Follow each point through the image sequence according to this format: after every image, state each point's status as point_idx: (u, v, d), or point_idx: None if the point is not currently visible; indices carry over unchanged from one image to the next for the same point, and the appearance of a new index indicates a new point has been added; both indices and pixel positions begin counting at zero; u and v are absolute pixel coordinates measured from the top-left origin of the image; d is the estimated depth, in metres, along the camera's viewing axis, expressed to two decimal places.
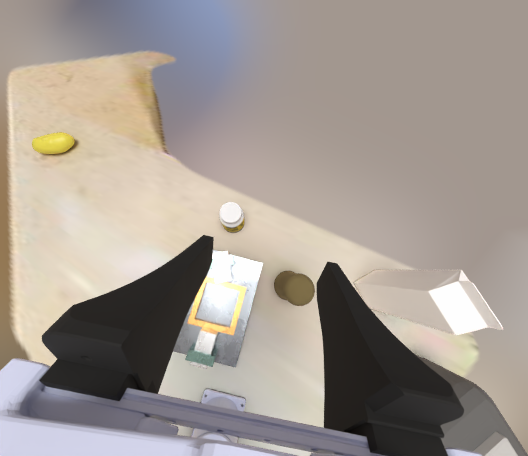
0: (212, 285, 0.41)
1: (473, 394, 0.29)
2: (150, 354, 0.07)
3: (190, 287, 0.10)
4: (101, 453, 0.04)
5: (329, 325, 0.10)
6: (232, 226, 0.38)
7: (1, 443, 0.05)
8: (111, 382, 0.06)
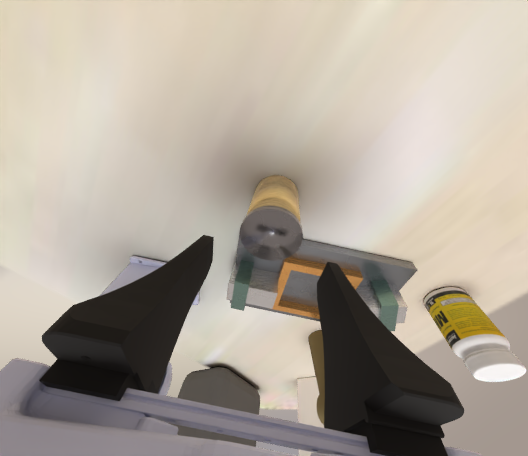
0: None
1: None
2: (150, 354, 0.07)
3: (190, 287, 0.10)
4: (101, 453, 0.04)
5: (329, 324, 0.10)
6: (456, 348, 0.21)
7: (1, 443, 0.05)
8: (111, 382, 0.06)
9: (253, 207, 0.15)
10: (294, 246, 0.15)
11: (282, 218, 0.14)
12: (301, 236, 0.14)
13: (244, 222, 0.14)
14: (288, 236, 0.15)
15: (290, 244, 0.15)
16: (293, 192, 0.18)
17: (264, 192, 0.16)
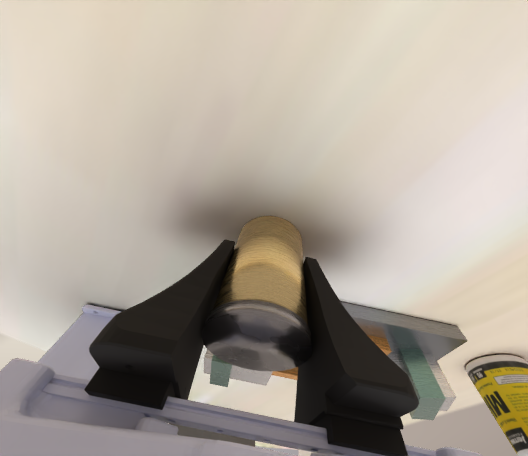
0: None
1: None
2: (186, 362, 0.07)
3: (216, 293, 0.10)
4: (101, 453, 0.04)
5: None
6: None
7: (0, 443, 0.05)
8: (154, 391, 0.06)
9: (226, 291, 0.09)
10: (297, 359, 0.09)
11: (275, 326, 0.07)
12: (309, 350, 0.08)
13: (207, 326, 0.08)
14: (285, 348, 0.08)
15: (290, 357, 0.09)
16: (295, 248, 0.11)
17: (248, 255, 0.10)
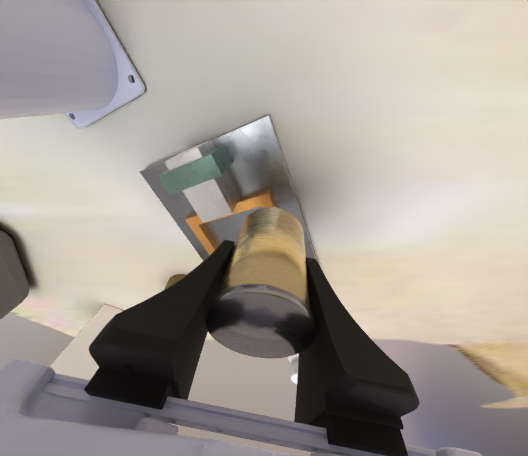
0: None
1: None
2: (186, 362, 0.07)
3: (216, 292, 0.10)
4: (101, 453, 0.04)
5: None
6: None
7: (1, 443, 0.05)
8: (154, 391, 0.06)
9: (231, 277, 0.09)
10: (299, 346, 0.09)
11: (280, 311, 0.07)
12: (312, 335, 0.08)
13: (212, 310, 0.08)
14: (288, 333, 0.08)
15: (292, 343, 0.09)
16: (298, 239, 0.11)
17: (253, 243, 0.10)
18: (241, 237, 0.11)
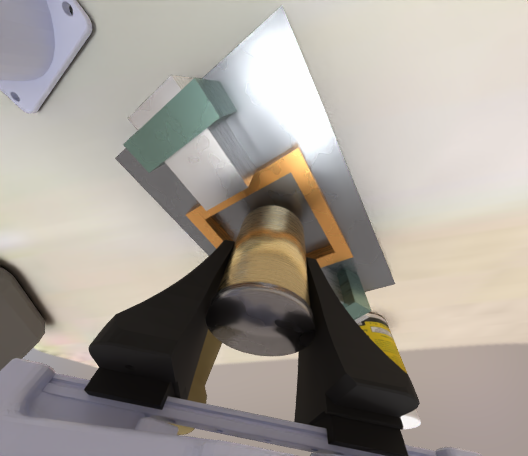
0: (315, 246, 0.16)
1: None
2: (186, 362, 0.07)
3: (216, 292, 0.10)
4: (101, 453, 0.04)
5: None
6: None
7: (1, 443, 0.05)
8: (154, 391, 0.06)
9: (232, 274, 0.09)
10: (298, 344, 0.09)
11: (282, 309, 0.07)
12: (312, 334, 0.08)
13: (213, 306, 0.08)
14: (288, 332, 0.08)
15: (292, 341, 0.09)
16: (299, 238, 0.11)
17: (254, 240, 0.10)
18: (242, 235, 0.11)
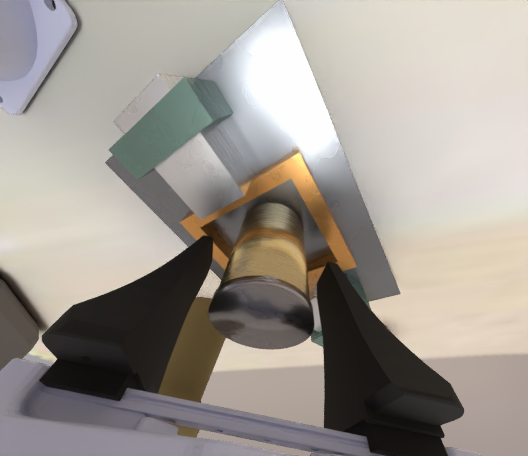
0: (317, 254, 0.15)
1: None
2: (150, 354, 0.07)
3: (190, 287, 0.10)
4: (101, 453, 0.04)
5: (329, 325, 0.10)
6: None
7: (2, 443, 0.05)
8: (111, 382, 0.06)
9: (234, 268, 0.09)
10: (298, 337, 0.09)
11: (282, 301, 0.08)
12: (312, 326, 0.08)
13: (216, 300, 0.08)
14: (289, 324, 0.09)
15: (292, 334, 0.09)
16: (298, 235, 0.12)
17: (255, 237, 0.10)
18: (243, 231, 0.12)
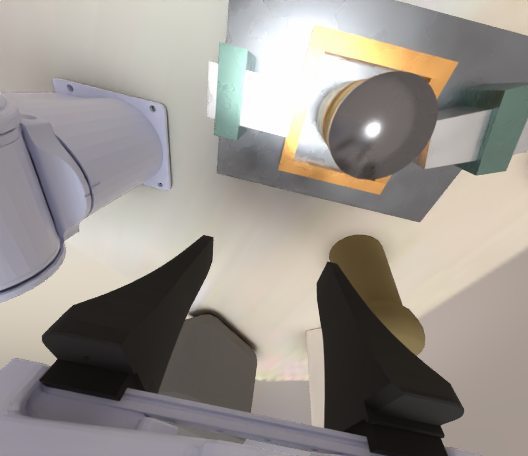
0: None
1: (239, 443, 0.28)
2: (150, 354, 0.07)
3: (190, 287, 0.10)
4: (101, 453, 0.04)
5: (329, 325, 0.10)
6: None
7: (1, 443, 0.05)
8: (111, 382, 0.06)
9: (329, 121, 0.11)
10: (427, 116, 0.09)
11: (380, 87, 0.09)
12: (429, 89, 0.08)
13: (331, 140, 0.10)
14: (406, 109, 0.09)
15: (418, 118, 0.09)
16: None
17: (330, 103, 0.12)
18: (321, 120, 0.13)
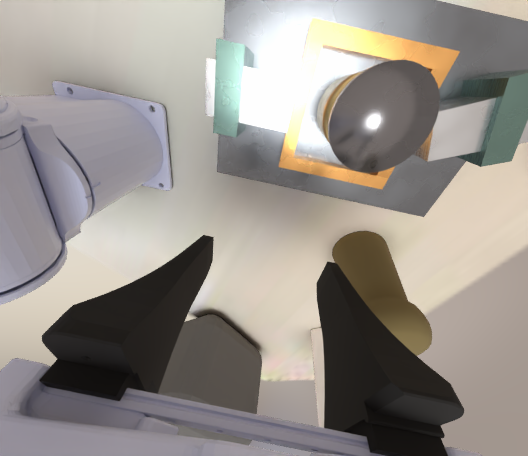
0: None
1: (245, 444, 0.28)
2: (150, 354, 0.07)
3: (190, 287, 0.10)
4: (101, 453, 0.04)
5: (329, 325, 0.10)
6: None
7: (1, 443, 0.05)
8: (111, 382, 0.06)
9: (329, 114, 0.10)
10: (429, 106, 0.09)
11: (380, 76, 0.08)
12: (431, 78, 0.08)
13: (331, 133, 0.10)
14: (407, 99, 0.09)
15: (420, 108, 0.09)
16: None
17: (330, 97, 0.12)
18: (321, 115, 0.13)
